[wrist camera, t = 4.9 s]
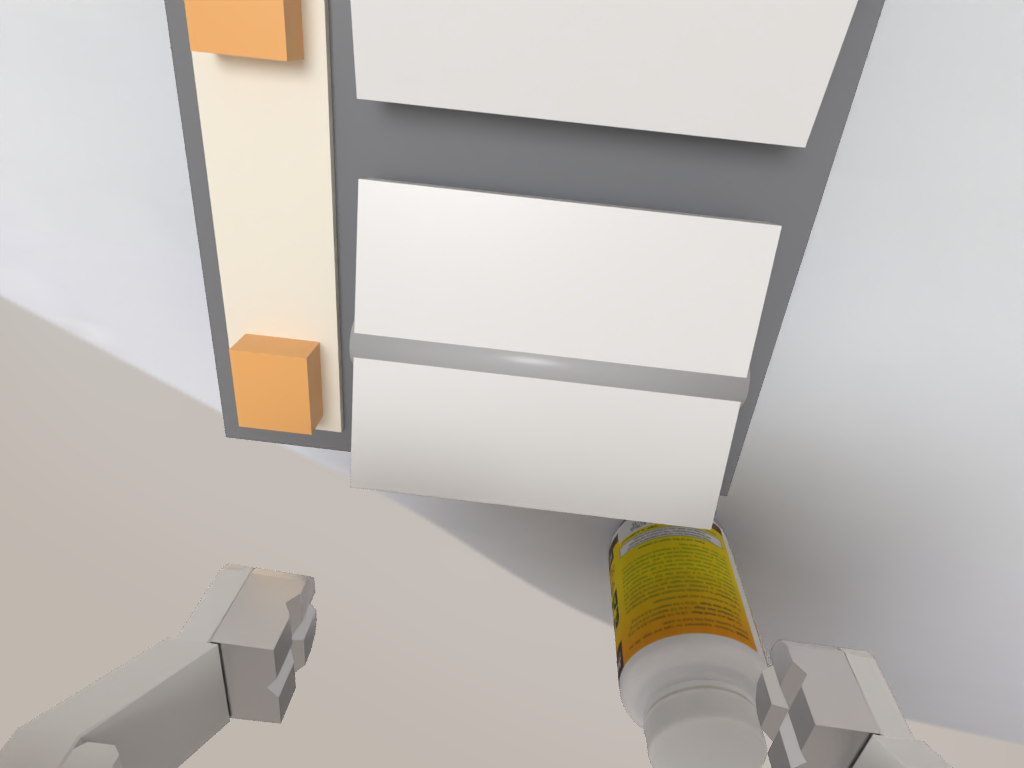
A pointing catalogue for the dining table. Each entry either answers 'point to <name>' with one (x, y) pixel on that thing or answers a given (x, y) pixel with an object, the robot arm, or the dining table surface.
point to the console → (419, 159)
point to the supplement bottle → (686, 646)
